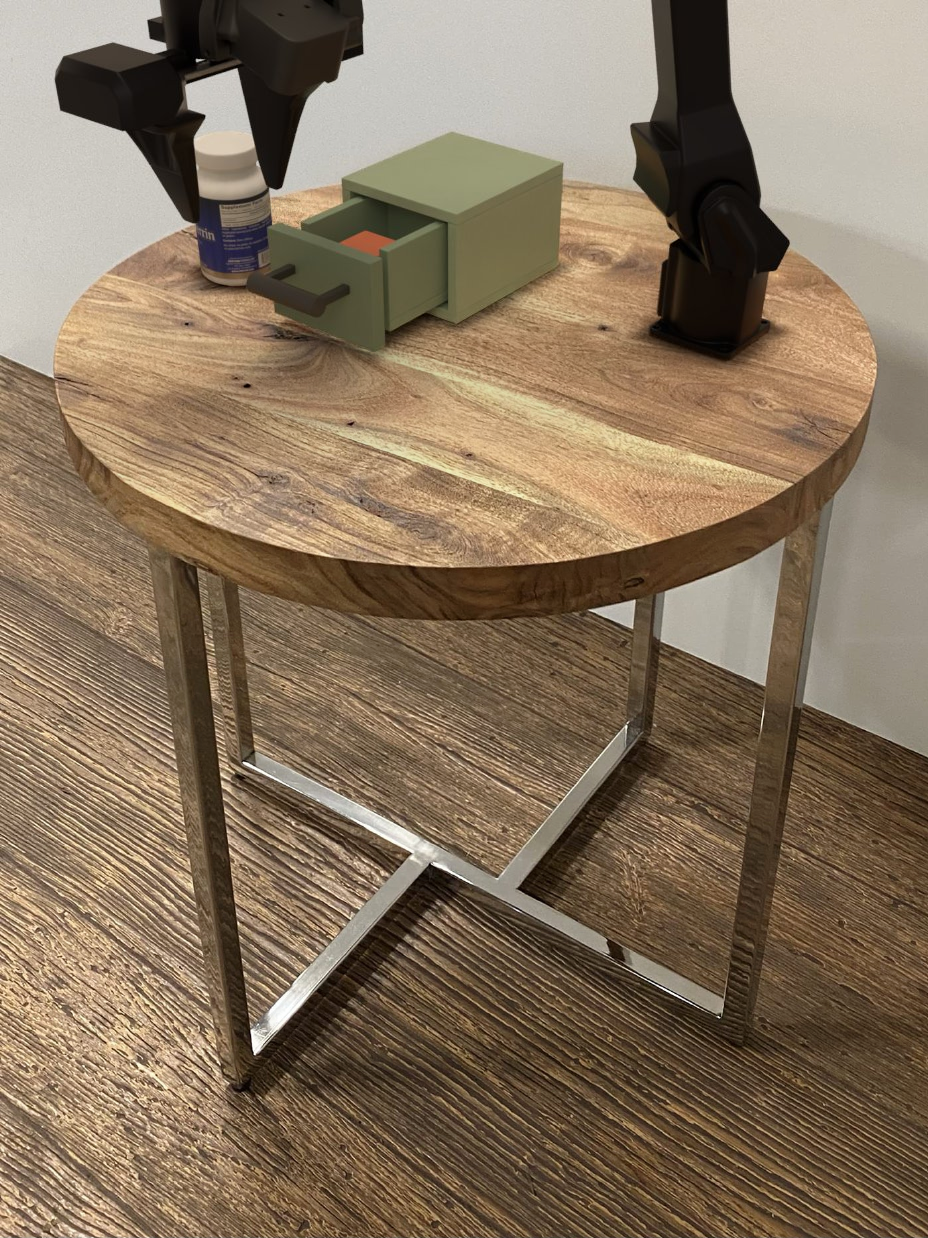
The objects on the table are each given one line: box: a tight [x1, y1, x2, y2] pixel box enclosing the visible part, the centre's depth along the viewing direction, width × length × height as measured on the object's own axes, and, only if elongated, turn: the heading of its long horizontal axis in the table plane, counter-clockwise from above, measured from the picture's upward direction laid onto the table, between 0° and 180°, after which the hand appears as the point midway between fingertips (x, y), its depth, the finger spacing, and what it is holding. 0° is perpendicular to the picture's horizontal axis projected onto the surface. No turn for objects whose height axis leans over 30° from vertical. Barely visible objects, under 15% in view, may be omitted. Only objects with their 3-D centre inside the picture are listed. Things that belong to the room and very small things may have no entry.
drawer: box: [245, 195, 448, 353], centre depth 91 cm, size 15×9×6 cm, turn 142°
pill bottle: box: [194, 130, 274, 287], centre depth 97 cm, size 6×6×10 cm
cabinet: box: [341, 131, 564, 325], centre depth 97 cm, size 13×11×8 cm
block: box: [340, 231, 395, 257], centre depth 91 cm, size 4×4×4 cm
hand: (234, 204), depth 79 cm, fingers open, 6 cm apart
